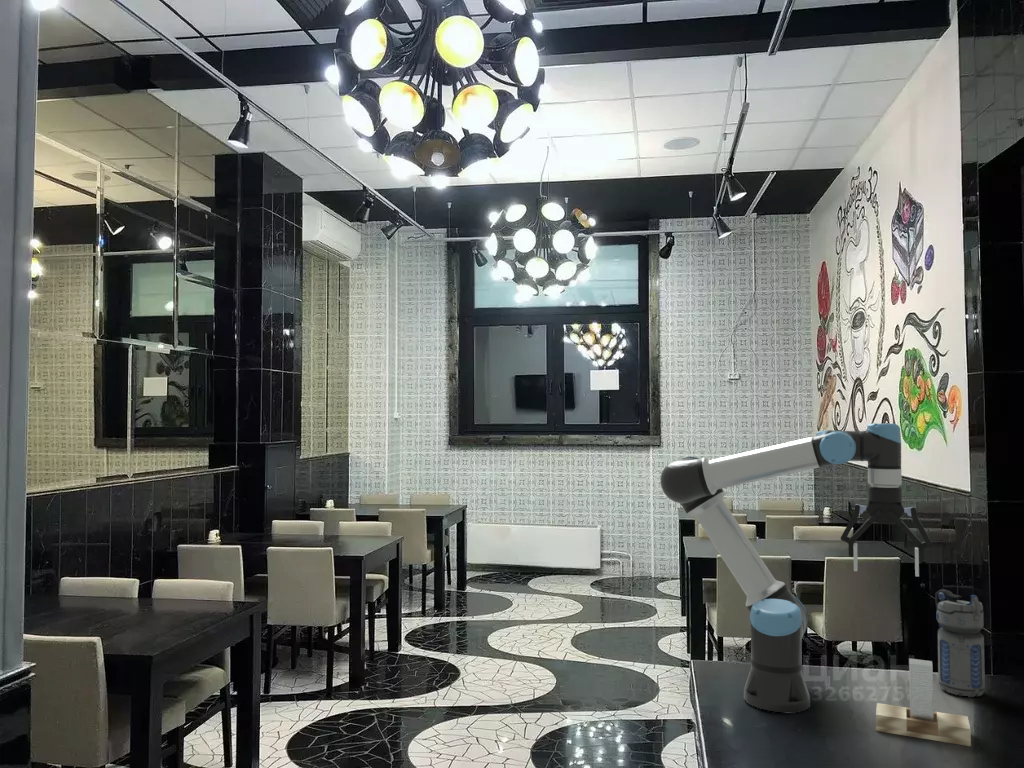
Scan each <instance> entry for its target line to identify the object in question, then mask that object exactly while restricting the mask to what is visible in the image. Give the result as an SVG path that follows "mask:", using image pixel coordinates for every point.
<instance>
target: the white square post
mask: <svg viewBox="0 0 1024 768" xmlns="http://www.w3.org/2000/svg"><path fill="white" fill-rule="evenodd" d="M908 670H909V671H908V672H909V675H908V676H909V677H908V679H909V681H908V683H909V708H910V718H914V719H920V720H927V721H933V711H934V679H933V675H934V674H933V670H934V669H933V660H924V659H917V658H908ZM933 722H934V721H933Z"/></svg>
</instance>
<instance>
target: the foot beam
mask: <svg viewBox="0 0 1024 768" xmlns="http://www.w3.org/2000/svg"><path fill="white" fill-rule="evenodd" d="M933 721H934V722H933ZM933 721H927V720H920V719H914V718H910V707H908V706H907V707H906V706H900V705H894V704H887V703H880V702H876V710H875V730H876V731H875V732H882V733H888V734H893V735H900V736H905V737H906V736H907V737H912V738H918V739H923V740H932V741H937V742H940V743H941V742H942V743H943V742H944V743H949V744H955V745H961V746H967V747H972V737H971V736H972V735H971V733H972V730H971V725H970V721H969V717H968V716H966V715H960V714H954V713H949V712H948V713H947V712H940V711H939V712H938V711H934V710H933Z"/></svg>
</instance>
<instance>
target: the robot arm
mask: <svg viewBox="0 0 1024 768" xmlns="http://www.w3.org/2000/svg"><path fill="white" fill-rule="evenodd" d="M901 435H902V434H901V427H900V426H899V425H898V424H896V423H873V422H872V423H868V424H867V426H866V430H859V431H857V430H831V429H830V430H829V429H828V430H819V431H818V432H816V435H815V436H810V437H805V438H801V439H797V440H793V441H788V442H784V443H780V444H779V443H778V444H775V445H774V444H773V445H771V446H766V447H762V448H758V449H753V450H748V451H744V452H741V453H740V452H739V453H736V454H731V455H727V456H726V455H725V456H722V457H718V458H713V459H709V458H708V457H705V456H704V457H700V458H699V457H697V456H696V457H695V456H687V457H683V458H678V459H676V460H673V461H671V462H669V463H668V464H667V465H666V466H665V467H664V468H663V470H662V472H661V475H660V486H661V490H662V492H663V493H664V495H665V496H666V497H667V498H668V499H670V500H671V501H673V502H675V503H677V504H680V506H681V507H682V508H683V510H684V512H685V513H686V515H688V516H691V517H694V518H696V520H697V521H698V523H699V524H700V526H701V528H702V529H703V531H704V532H705V534H706V535H707V537H708V539H709V540H710V541H711V543H712V544H713V546H714V547H715V549H716V551H717V553H718V554H719V555H720V557H721V558H722V560H723V562H724V563H725V566H726V567H727V568H728V569H729V570H728V571H730V573H731V574H732V576H733V578H734V579H735V581H736V582H737V583H738V585H739V586H740V588H741V590H742V591H743V592H744V594H745V596H746V600H745V607H746V608H747V610H748V611H749V615H750V616H749V619H750V670H749V674H748V676H747V678H746V682H745V684H744V687H743V700H744V699H745V700H746V701H747V702H748V703H749V704H751V705H753V706H756V707H758V708H761V709H765V710H769V711H775V712H799V711H804V710H806V709H808V708H809V707H811V695H810V694H809V690H808V687H807V684H806V681H805V678H804V675H803V665H802V664H803V663H802V662H803V661H802V660H803V657H802V656H803V655H802V654H803V652H802V650H803V649H802V648H803V647H802V645H803V644H802V643H803V640H802V639H803V637H804V635H805V633H806V631H807V628H808V622H809V621H808V619H809V618H808V613H807V610H806V608H805V606H804V604H803V602H801V601H800V599H799V598H797V597H796V596H795V595H793V594H792V592H791V590H790V589H789V588H788V586H787V585H786V583H785V582H784V581H780V580H777V579H775V577H774V576H773V574H772V572H771V571H770V569H769V568H768V567H767V565H766V563H765V562H764V560H763V559H762V558H761V556H760V554H759V553H758V551H757V550H756V548H755V547H754V545H753V543H752V541H750V539H749V538H748V536H747V534H746V533H745V532H744V530H743V528H742V527H741V525H740V524H739V523H738V521H737V519H736V517H735V516H734V515H733V513H732V512H731V511H730V509H729V507H728V506H727V505H726V502H724V496H725V491H724V489H726V488H731V487H736V486H740V485H743V484H744V485H745V484H749V483H755V482H758V481H764V480H768V479H772V478H773V479H774V478H777V477H781V476H787V475H791V474H795V473H801V472H805V471H808V470H814V469H819V468H824V467H828V466H830V467H831V466H833V465H834V466H835V465H843V464H846V463H848V462H867V484H869V486H868V488H867V505H861V504H859V503H856V504H855V505H854V509H853V513H852V516H851V517H850V520H849V521H848V523H847V525H846V526H845V529H844V531H843V532H842V535H841V536H840V540H841V541H842V542H845V543H847V545H848V556H849V557H851V558H853V572H858V569H859V568H858V565H859V564H858V563H859V562H858V543H857V542H856V541H857V540H858V539H859V538H860V537H861V536H862V535H863V533H865V532H866V531H867V530H868V529H869V527H871V526H872V524H873V523H874V522H875V523H876V524H878V525H885V524H886V525H890V526H891V525H895V524H896V525H898V527H900V529H901V530H902V531H903V532H904V533H905V534H906V535H907V536H908V538H909V539H910V540H911V541H912V542H913V544H914V545H915V546H917V547H914V570H915V572H914V573H915V575H914V576H915V577H920V565H919V564H920V563H924V562H925V549H926V548H931V547H932V546H933V541H932V540H931V539H930V537H929V535H928V533H927V531H926V530H925V527H924V526H923V524H922V523H921V520H920V518H919V517H918V513H917V507H915V506H911V507H903V494H902V493H903V490H902V488H901V487H900V486H901V485H902V484H903V483H902V479H903V478H902V438H901V437H902V436H901ZM865 511H866V512H867V513H868V515H869V518H868V519H867V520H866V521H865V522H864V523H863V524H862V525H861V526H860V527H859V528H858V529H857V530H856V531H855V532H854V534H852V536H851V537H849V534H850V533H851V530H852V528H853V527H854V525H855V523H856V522H857V519H858V518H859V515H861V514H863V513H864V512H865ZM904 513H906V514H907V516H908V517H911V519H912V521H913V523H914V524H915V526H916V528H917V530H918V532H919V534H920V536H921V537H922V539H923V541H921V540H920V539H919V538H918V536H917V535H916V534H915V533H914V532H913V531H912V530H911V529H910V527H908V525H907V524H906V523H905V522H904V521H903V520H902V519H901V517H902V516H903V515H904ZM855 542H856V543H855ZM745 700H744V701H745ZM749 704H748V705H749ZM751 705H750V706H751ZM753 706H752V707H753ZM758 708H757V709H758ZM761 709H760V710H761ZM809 709H810V708H809ZM809 709H808V710H809ZM769 711H768V712H769ZM806 711H807V710H806ZM775 712H774V713H775ZM804 712H805V711H804ZM799 713H800V712H799Z"/></svg>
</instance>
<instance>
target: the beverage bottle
mask: <svg viewBox="0 0 1024 768" xmlns="http://www.w3.org/2000/svg"><path fill="white" fill-rule="evenodd" d="M969 596H970V601H967V600H960V599H961V598H963V596H962V595H957V594H953V592H952V591H951V590H947V589H944V588H943V589H942V588H941V589H939V590H937V591H936V592H935V594H934V601H935V608H936V616H935V618H936V621H937V623H938V629H937V661H938V662H937V669H938V670H937V671H938V672H937V674H938V685H939V687H940V688H941V690H943V691H945V692H946V693H947V694H950V693H951V694H950V695H953V694H954V696H957V695H959V696H958V697H962V696H968V697H967V698H975V696H976V697H980V696H982V695H983V694H984V693H985V691H986V680H985V679H986V678H985V677H986V675H985V674H986V672H985V636H984V634H983V633H982V632H981V630H982V629H983V628H984V627H985V626H984V624H985V623H984V606H983V603H982V602H981V601H979V597H978V596H977V595H975V594H971V595H969ZM958 599H959V600H958Z"/></svg>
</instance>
